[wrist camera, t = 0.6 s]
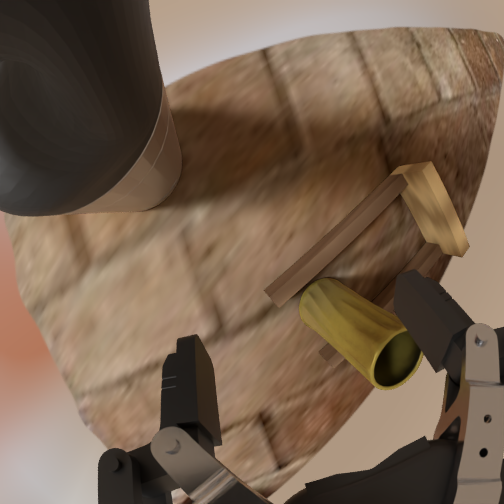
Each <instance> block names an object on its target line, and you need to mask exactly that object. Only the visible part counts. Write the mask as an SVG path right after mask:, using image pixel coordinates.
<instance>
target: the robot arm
mask: <svg viewBox="0 0 504 504" xmlns="http://www.w3.org/2000/svg"><path fill="white" fill-rule="evenodd" d="M181 170H182V154H181V150H180V146H179V141H178V137H177V133H176V130H175V126H174V122H173V118H172V114H171V110H170V106H169V102H168V98H167V95H166V91H165V87H164V83H163V79H162V74H161V71H160V66H159V61H158V55H157V50H156V45H155V40H154V35H153V30H152V24H151V18H150V10H149V0H0V210H1V211H3V212H6V213H9V214H12V215H19V216H50V215H70V214H86V213H113V212H140V211H144V210H148V209H151V208H153V207H155V206H157V205H158V204H160V203H161V202H163V201H164V200H165V199H166V198H167V197H168V196H169V195H170V194H171V193H172V191H173V190H174V188H175V187H176V185H177V183H178V180H179V178H180V175H181ZM393 305H394V310H395V313H396V315H397V316H398V318H399V319H400V321H401V322H402V323H403V325H404V326H405V328H406V329H407V331H408V332H409V333H410V335H411V336H412V338H413V339H414V341H415V342H416V343H417V345H418V346H419V348H420V349H421V351H422V352H423V354H424V355H425V357H426V358H427V360H428V361H429V363H430V364H431V366H432V367H433V369H434V370H435V372H436V373H437V372H439V371H440V370H442V369H444V368H445V369H446V371H447V375H446V381H445V390H444V398H443V405H442V412H441V416H440V420H439V422H438V425H437V427H436V430H435V434H434V437H433V440H428V441H427V439H426V437H425V436H424V437H422V438H420V439H418V440H416V441H414V442H412V443H410V444H408V445H406V446H404V447H402V448H400V449H398V450H397V451H396V452H394V453H393V454H392V455H390V456H389V457H388V458H386V459H385V460H384V461H382V462H381V463H380V464H378V465H377V466H376V467H374V468H372V469H370V470H365V471H358V472H350V473H342V474H336V475H333V476H329V477H326V478H323V479H320V480H316V481H313V482H309V483H306V484H305V486H306V488H305V489H303V490H301V491H299V492H298V493H297V494H295V495H293V496H292V497H291V498H290V499H288V500H287V501H286V502H285V503H284V504H504V459H503V452H504V327H501V328H497V329H492V328H491V327H490V326H488V325H486V324H482V323H478V324H475V323H474V322H473V321H472V319H471V318H470V317H469V316H468V315H467V314H466V313H465V311H464V310H463V309H462V308H461V307H460V306H459V305H458V304H457V302H456V301H455V300H454V299H452V297H451V296H450V295H449V294H448V293H446V290H445V289H444V288H443V287H442V286H441V285H440V284H439V283H438V282H436V281H434V280H432V279H430V278H429V277H426V278H424V277H423V276H422V275H421V274H420V273H419V272H418V271H417V270H416V269H412V270H409V271H406V272H404V273H401V274H398V275H397V278H396V285H395V294H394V302H393ZM162 379H163V380H162V390H161V424H160V430H159V431H158V432H157V433H156V434H155V436H154V437H153V439H152V441H151V442H150V443H149V444H147V445H145V446H143V447H140V448H137V449H135V450H132V451H130V452H125V451H124V450H122V449H119V448H112V449H109V450H107V451H106V452H104V453H103V454H102V456H101V457H100V460H99V463H98V504H173V503H172V495H171V491H173V490H175V489H178V488H182V489H183V491H184V492H185V493H186V494H187V495H188V496H189V497H190V498H191V499H192V501H193V502H192V503H193V504H273V503H272V502H270V501H269V500H267V499H266V498H265V497H263V496H262V495H261V494H259V493H258V492H256V491H255V490H254V489H252V488H251V487H250V486H248V485H247V484H246V483H245V482H243V481H242V480H241V479H240V478H238V477H237V476H236V475H235V474H234V473H232V472H231V471H230V470H229V469H228V468H226V467H225V466H224V465H223V464H222V463H221V462H220V461H218V460H217V459H216V458H215V453H214V446H220V445H222V439H221V431H220V422H219V414H218V405H217V395H216V385H215V375H214V368H213V364H212V361H211V359H210V357H209V355H208V353H207V351H206V349H205V347H204V345H203V344H202V342H201V340H200V338H199V336H198V335H197V334H195V335H191V336H187V337H182V338H178V339H177V350H176V353H173V354H169V355H168V356H167V358H166V360H165V362H164V364H163V369H162Z"/></svg>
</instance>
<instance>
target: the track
mask: <svg viewBox="0 0 504 504" xmlns="http://www.w3.org/2000/svg"><path fill="white" fill-rule="evenodd" d="M399 194H401V195H402V197H403V199H404V201H405V202H406V204H407V206H408V208H409V210H410V211H411V213H412V215H413V217H414V219H415V221H416V223H417V225H418V227H419V228H420V230H421V232H422V234H423V236H424V238H425V240H426V243H425V244H424V245H423V247H422V248H421V249H420V250H419V251H418V253H417V254H416V255H415V256H414V257H413V258H412V259H411V261H410V262H409V263H408V264H407V265H406V266H405V267H404V268H403V270H402V271H401V272H400V273H399V274H401V273H404V272H406V271H409V270H412V269H416V270H417V271H418V272H419V273H420V274H421V275H422V276H423V277H424V276H425V275H426V274H427V272H428V271H429V270H430V269H431V268H432V266H433V265H434V264H435V263H436V261H437V260H438V259H439V258H440V256H441V255H442V254H443V253H444V254H449V255H453V256H458V257H463V255H464V254H465V253H466V251H467V249H468V248H469V247H470V246H469V243H468V241H467V238H466V236H465V233H464V230H463V228H462V225H461V223H460V220H459V218H458V216H457V213H456V211H455V209H454V206H453V204H452V202H451V200H450V197H449V195H448V193H447V191H446V189H445V187H444V185H443V183H442V181H441V179H440V177H439V175H438V173H437V171H436V169H435V167H434V165H433V163H432V162H431V161H428V162H422V163H416V164H410V165H404V166H398V167H397V168H396V169H395V170H394V171H393V172H392V173H391V174H390V175H389V176H388V177H387V178H386V179H385V180H384V181H383V182H382V183H381V184H380V185H379V186H378V187H377V188H376V189H375V190H374V191H373V192H372V193H370V194H369V195H368V196H367V197H366V198H365V199H364V200H363V201H362V202H361V203H360V204H359V205H358V206H357V207H356V208H355V209H354V210H352V211H351V212H350V213H349V214H348V215H347V216H346V217H345V218H344V219H343V220H342V221H341V222H340V223H339V224H337V225H336V226H335V227H334V228H333V229H332V230H331V231H330V232H329V233H328V234H327V235H325V236H324V237H323V238H322V239H321V240H320V241H319V242H318V243H317V244H316V245H314V246H313V247H312V248H311V249H310V250H309V251H308V252H307V253H306V254H304V255H303V256H302V257H301V258H300V259H299V260H298V261H297V262H296V263H294V264H293V265H292V266H291V267H290V268H289V269H288V270H287V271H285V272H284V273H283V274H282V275H281V276H280V277H279V278H277V279H276V280H275V281H274V282H273V283H272V284H271V285H269V286H268V287H267V288H266V289H265V290H264V291H265V292H266V294H267V295H268V296H269V297H270V298H271V299H272V301H273V302H274V303H275V304H276V305H277V306H278V307H281V306H282V305H283V304H284V303H285V302H286V301H287V300H289V299H290V298H291V297H292V296H293V295H294V294H295V293H297V292H298V291H299V290H300V289H301V288H302V287H303V286H304V285H305V284H307V283H308V282H309V281H310V280H311V279H312V278H313V277H314V276H315V275H317V274H318V273H319V272H320V271H321V270H322V269H323V268H324V267H325V266H326V265H327V264H328V263H330V262H331V261H332V260H333V259H334V258H335V257H336V256H337V255H338V254H339V253H340V252H341V251H342V250H343V249H344V248H345V247H346V246H348V245H349V244H350V243H351V242H352V241H353V240H354V239H355V238H356V237H357V236H358V235H359V234H360V233H361V232H362V231H363V230H364V229H365V228H366V227H367V226H368V225H369V224H370V223H371V222H372V221H373V220H374V219H375V218H376V217H377V216H378V215H379V214H380V213H381V212H382V211H383V210H384V209H385V208H386V207H387V206H388V205H389V204H390V203H391V202H392V201H393V200H394V199H395V198H396V197H397V196H398V195H399ZM396 278H397V276H396V277H395V278H394V279H393V280H392V282H391V283H390V284H389V285H388V286H387V287H386V288H385V289H384V290H383V291H382V292H381V293H380V294H379V295H378V296H377V297H376V298H375V299H374V300H373V301H372V302H371V303H373V304H374V305H376V306H378V307H380V308H382V309H384V310H386V311H388V312H390V313H392V312H393V311H394V305H393V302H394V294H395V285H396ZM319 353H320V354H321V355H322V357H323V358H324V359H325V360H326V361H327V362H328V363H329V364H330V365H331V367H332V368H333V369H334V368H335V367H336V366H337V365H338V364H339V363H340V362H342V361H343V360H344V359H345V357H344V356H343V355H342V354H341V353H339V352H338V351H337V350H336V349H335V348H334V347H333V346H332V345H331V344H329V343H328V344H327V345H326V346H325V347H324V348H322V349H321V350H320V351H319Z"/></svg>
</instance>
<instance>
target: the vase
mask: <svg viewBox="0 0 504 504" xmlns="http://www.w3.org/2000/svg"><path fill="white" fill-rule="evenodd" d="M299 313H300V317H301V319H302V321H303V322H304V324H306V325H307V326H308V327H309V328H311V329H313V330H315V331H316V332H317V333H318V334H319V335H321V336H322V337H323V338H324V339H325V340H326V341H327V342H328V343H329V344H331V345H332V346H333V347H334V348H335V349H336V350H337V351H338V352H339V353H341V354H342V355H343V356H344V357H345V358H346V359H347V360H348V361H349V362H350V363H351V364H352V365H353V366H354V367H355V368H356V369H357V370H358V371H359V372H360V373H361V374H363V375H364V376H365V377H366V378H367V379H368V381H370V382H371V383H372V384H373V385H374V386H375V387H376V388H378V389H381V390H392V389H395V388H397V387H399V386H401V385H403V384H404V383H405V382H406V381H407V380H409V379H410V378H411V377H412V376H413V374H414V373H415V372H416V371H417V369H418V367H419V365H420V363H421V361H422V358H423V355H424V354H423V352H422V351H421V349H420V348H419V346H418V345H417V343H416V342H415V341H414V339H413V338H412V336H411V335H410V333H409V332H408V331H407V329H406V328H405V326H404V325H403V323H402V322H401V321H400V319H399V318H398V317H397V316H395V315H394V314H392V313H390V312H388V311H386V310H384V309H382V308H380V307H378V306H376V305H374V304H373V303H371V302H370V301H368V300H366V299H365V298H363V297H362V296H360V295H359V294H357V293H356V292H354V291H353V290H351V289H350V288H348V287H347V286H345V285H343V284H342V283H341V282H340V281H338V280H336V279H331V278H323V279H319V280H317V281H315V282H313V283H312V284H310V285H309V286H308V287H307V288H306V290H305V291H304V293H303V295H302V297H301V300H300V304H299Z"/></svg>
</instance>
